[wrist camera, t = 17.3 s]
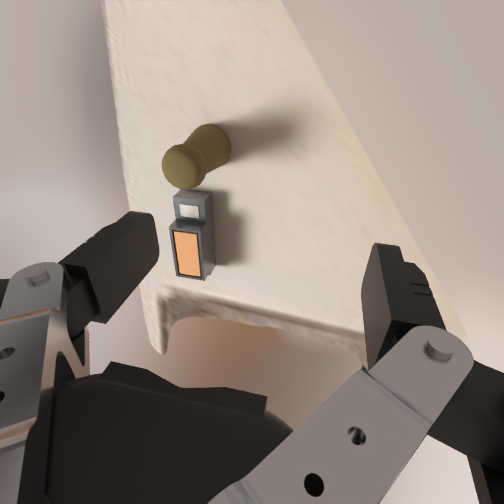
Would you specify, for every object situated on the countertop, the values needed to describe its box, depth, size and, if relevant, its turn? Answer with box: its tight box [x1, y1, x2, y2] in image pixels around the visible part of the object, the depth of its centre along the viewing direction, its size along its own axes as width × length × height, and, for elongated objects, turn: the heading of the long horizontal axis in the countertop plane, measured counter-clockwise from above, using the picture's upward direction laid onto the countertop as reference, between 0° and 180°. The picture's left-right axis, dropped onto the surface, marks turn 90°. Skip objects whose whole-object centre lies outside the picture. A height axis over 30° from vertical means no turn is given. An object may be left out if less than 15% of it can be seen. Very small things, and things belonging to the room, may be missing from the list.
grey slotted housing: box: [169, 189, 216, 281], centre depth 50 cm, size 14×5×6 cm, turn 179°
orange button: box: [174, 230, 202, 277], centre depth 49 cm, size 8×4×2 cm, turn 179°
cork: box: [162, 124, 231, 190], centre depth 39 cm, size 6×6×11 cm
